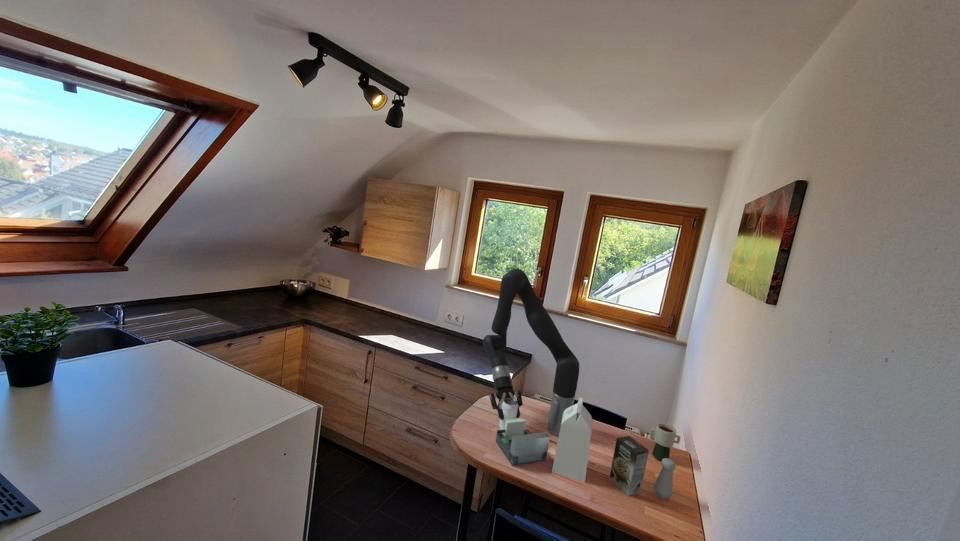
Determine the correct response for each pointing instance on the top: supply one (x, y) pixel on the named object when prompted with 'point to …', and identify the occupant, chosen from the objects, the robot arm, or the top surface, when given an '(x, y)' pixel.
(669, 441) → the character mug
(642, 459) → the coffee box
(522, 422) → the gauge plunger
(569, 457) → the milk
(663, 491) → the salt shaker
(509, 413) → the can
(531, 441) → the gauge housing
